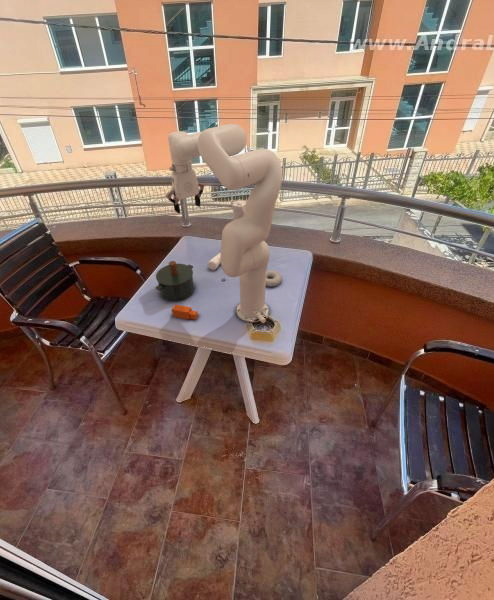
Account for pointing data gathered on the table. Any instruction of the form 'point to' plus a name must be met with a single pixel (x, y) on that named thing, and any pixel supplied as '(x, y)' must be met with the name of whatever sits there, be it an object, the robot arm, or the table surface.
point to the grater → (238, 208)
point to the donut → (275, 276)
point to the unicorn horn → (214, 262)
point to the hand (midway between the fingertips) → (188, 209)
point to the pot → (177, 290)
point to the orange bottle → (184, 312)
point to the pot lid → (174, 274)
